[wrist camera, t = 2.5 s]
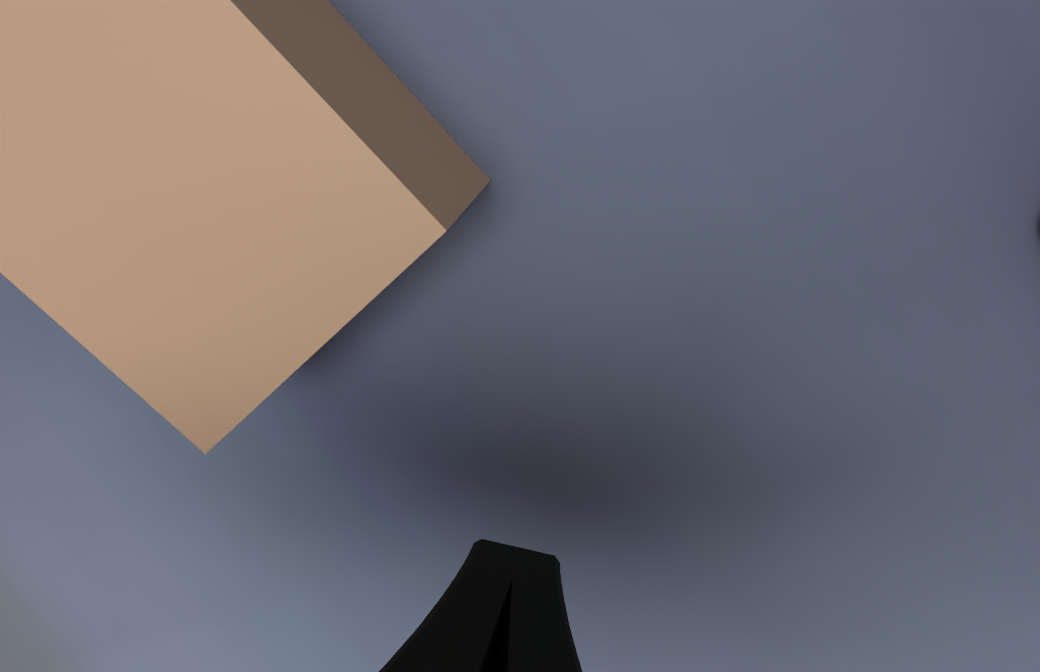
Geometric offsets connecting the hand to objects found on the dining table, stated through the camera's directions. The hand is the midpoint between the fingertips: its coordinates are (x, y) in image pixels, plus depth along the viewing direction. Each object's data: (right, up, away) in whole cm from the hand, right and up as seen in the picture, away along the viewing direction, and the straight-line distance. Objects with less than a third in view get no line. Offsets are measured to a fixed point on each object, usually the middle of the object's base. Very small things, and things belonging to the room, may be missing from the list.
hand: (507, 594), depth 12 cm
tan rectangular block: (-5, +8, +2) cm, 10 cm away
